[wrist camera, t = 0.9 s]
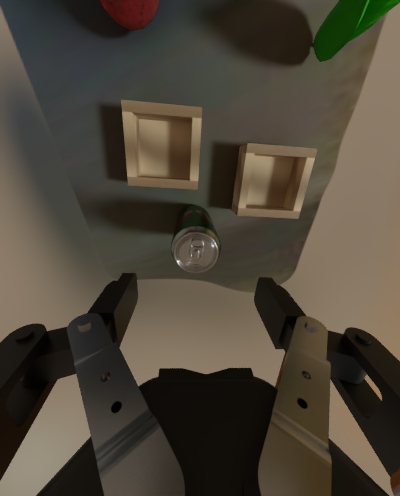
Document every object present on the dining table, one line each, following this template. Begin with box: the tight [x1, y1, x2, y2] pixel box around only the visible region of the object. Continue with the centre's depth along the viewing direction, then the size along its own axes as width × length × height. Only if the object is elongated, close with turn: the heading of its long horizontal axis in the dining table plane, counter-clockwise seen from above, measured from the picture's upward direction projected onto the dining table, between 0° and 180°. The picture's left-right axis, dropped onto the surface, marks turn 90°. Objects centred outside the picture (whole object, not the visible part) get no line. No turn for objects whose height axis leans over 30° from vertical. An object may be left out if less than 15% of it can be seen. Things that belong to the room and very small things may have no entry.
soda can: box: [171, 205, 221, 273], centre depth 23 cm, size 5×5×12 cm
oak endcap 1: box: [121, 100, 202, 190], centre depth 23 cm, size 8×8×4 cm
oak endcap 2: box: [231, 143, 317, 219], centre depth 25 cm, size 8×8×4 cm
